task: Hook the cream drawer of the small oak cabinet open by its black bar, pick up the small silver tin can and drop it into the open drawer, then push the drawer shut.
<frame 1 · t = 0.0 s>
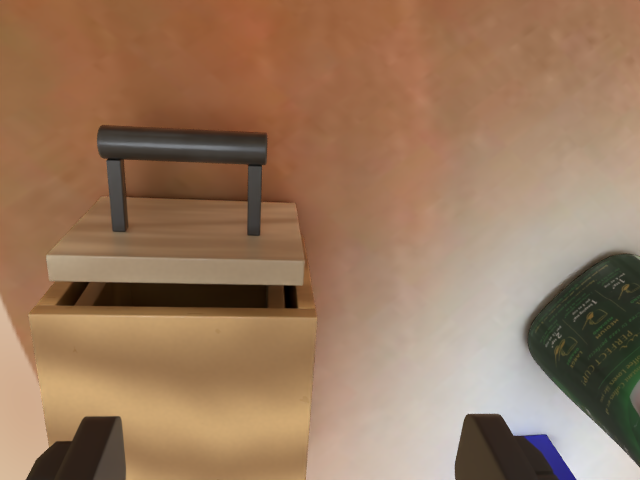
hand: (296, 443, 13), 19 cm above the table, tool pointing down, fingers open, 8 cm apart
coffee jar: (594, 315, 36), on the table
cabinet: (204, 340, 33), on the table
drawer: (192, 305, 27), point 5 cm above the table, slide at 1.0 cm
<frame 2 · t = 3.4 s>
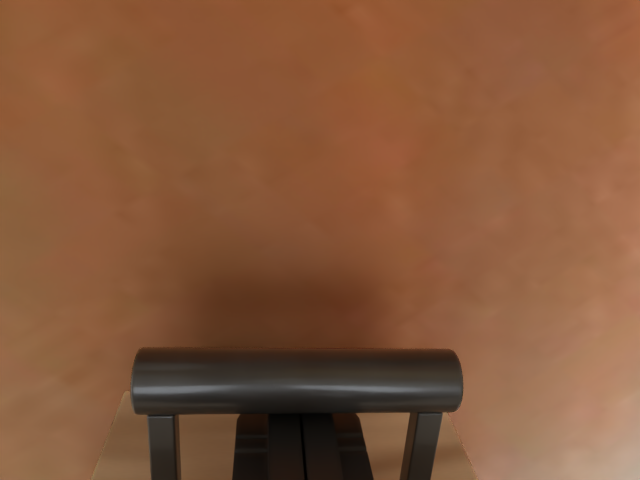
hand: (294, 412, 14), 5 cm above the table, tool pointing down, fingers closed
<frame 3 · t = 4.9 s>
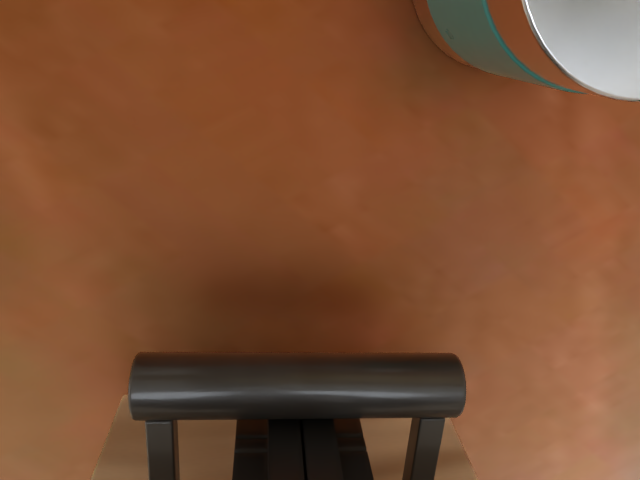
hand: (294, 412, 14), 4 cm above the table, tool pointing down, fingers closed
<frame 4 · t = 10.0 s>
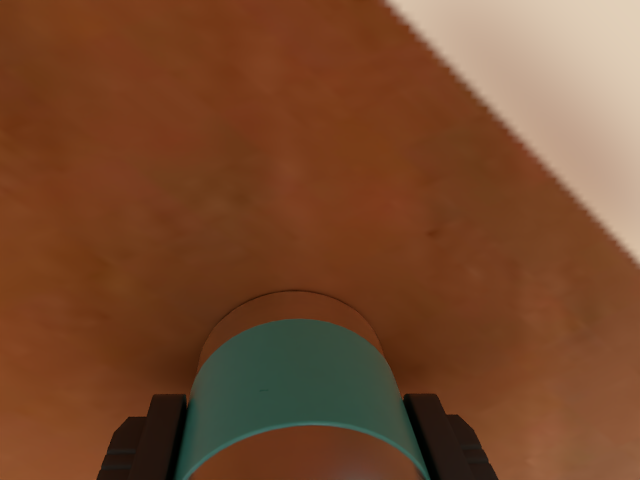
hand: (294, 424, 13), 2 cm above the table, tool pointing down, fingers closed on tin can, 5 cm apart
tin can: (292, 372, 15), on the table, touching gripper
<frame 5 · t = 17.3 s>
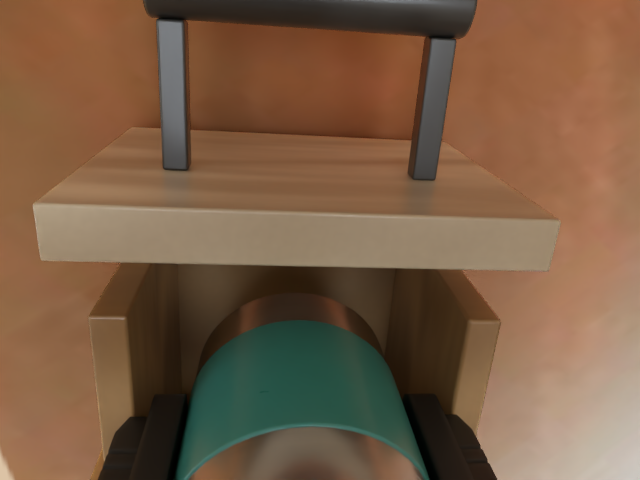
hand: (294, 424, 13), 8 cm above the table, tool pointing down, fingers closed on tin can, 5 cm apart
tin can: (292, 373, 15), point 6 cm above the table, touching gripper
drawer: (292, 310, 16), point 5 cm above the table, slide at 8.2 cm
when the fingers open (10 cm above the table, at t = 28.6 s): tin can drops 6 cm, resting on drawer.
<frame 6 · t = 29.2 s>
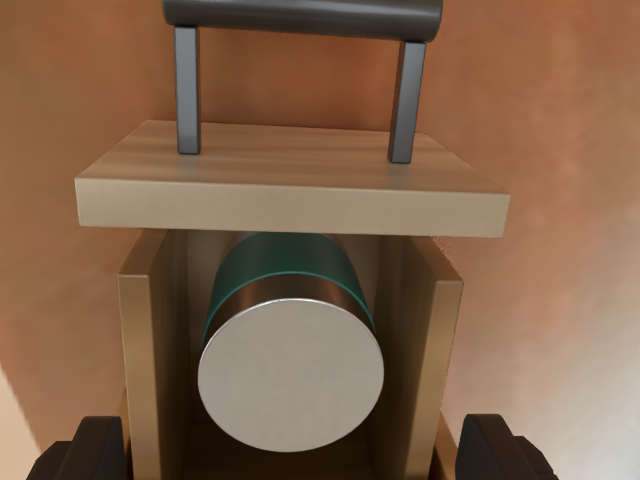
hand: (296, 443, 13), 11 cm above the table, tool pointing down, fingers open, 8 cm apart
tin can: (285, 276, 21), point 2 cm above the table, touching drawer
cabinet: (274, 454, 27), on the table
drawer: (288, 279, 18), point 5 cm above the table, slide at 8.0 cm, touching tin can
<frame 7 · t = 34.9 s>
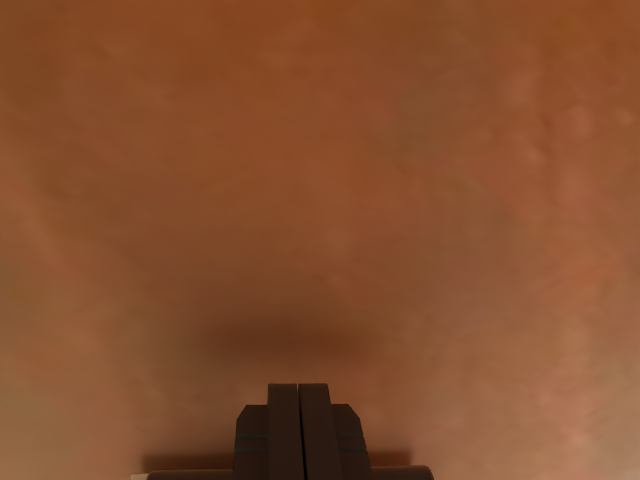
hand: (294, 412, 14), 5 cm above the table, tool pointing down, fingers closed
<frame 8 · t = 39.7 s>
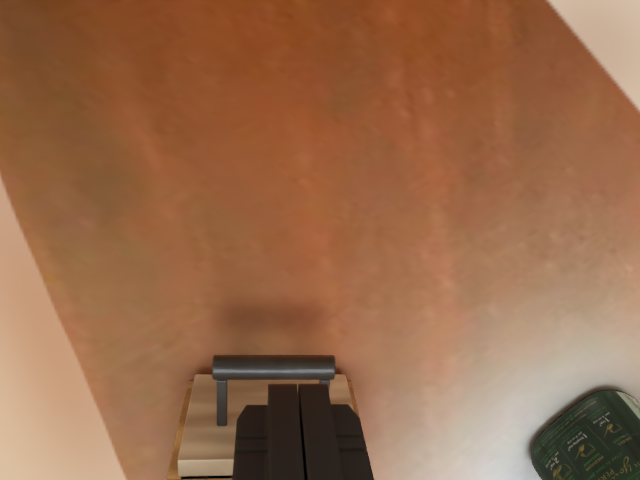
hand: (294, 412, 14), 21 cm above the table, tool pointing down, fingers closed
coffee jar: (585, 432, 43), on the table
cabinet: (267, 459, 41), on the table
drawer: (269, 466, 35), point 5 cm above the table, slide at 0.0 cm, touching tin can
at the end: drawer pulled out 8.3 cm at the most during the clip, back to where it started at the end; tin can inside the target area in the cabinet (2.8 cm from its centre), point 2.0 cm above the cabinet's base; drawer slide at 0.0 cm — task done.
